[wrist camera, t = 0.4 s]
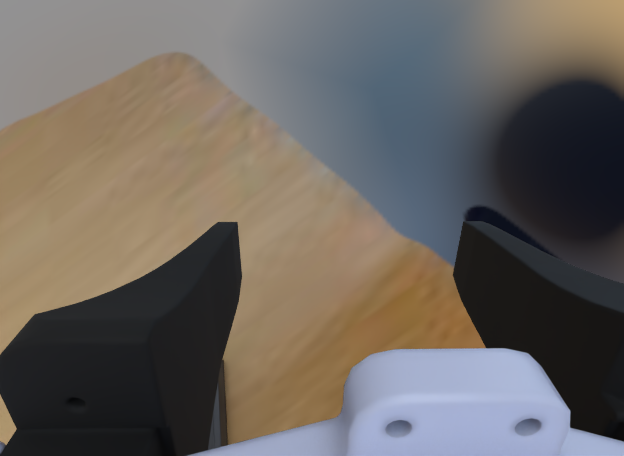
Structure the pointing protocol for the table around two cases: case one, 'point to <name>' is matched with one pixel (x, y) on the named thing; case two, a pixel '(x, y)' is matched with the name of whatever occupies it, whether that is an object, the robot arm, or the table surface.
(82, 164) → the table surface
